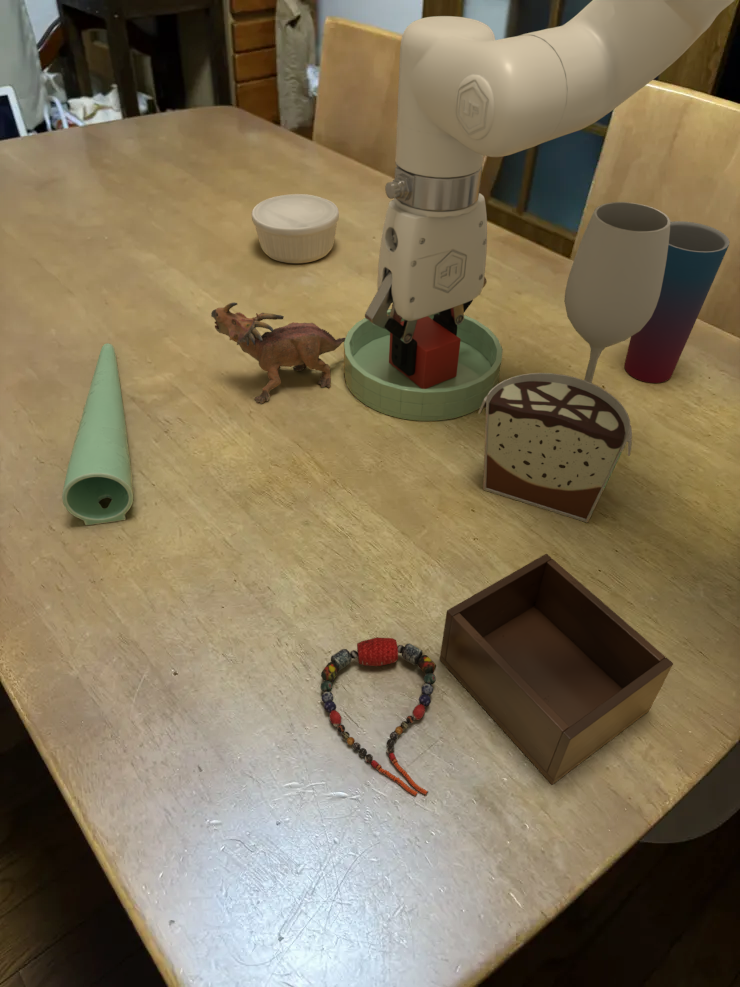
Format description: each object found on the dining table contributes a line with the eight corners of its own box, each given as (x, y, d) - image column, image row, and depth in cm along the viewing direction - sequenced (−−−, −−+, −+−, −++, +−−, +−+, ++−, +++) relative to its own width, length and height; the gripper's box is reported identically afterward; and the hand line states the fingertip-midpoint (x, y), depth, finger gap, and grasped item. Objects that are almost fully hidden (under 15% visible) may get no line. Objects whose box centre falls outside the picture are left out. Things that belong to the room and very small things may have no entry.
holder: (649, 711, 51) (674, 663, 47) (551, 785, 47) (570, 739, 43) (533, 602, 57) (546, 552, 53) (439, 659, 53) (446, 610, 50)
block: (456, 376, 78) (460, 338, 75) (423, 390, 76) (426, 351, 73) (421, 350, 82) (424, 313, 79) (388, 362, 80) (390, 325, 77)
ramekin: (244, 263, 97) (240, 223, 94) (268, 227, 105) (265, 189, 102) (328, 272, 96) (328, 232, 92) (346, 235, 104) (346, 197, 100)
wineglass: (548, 396, 77) (595, 191, 63) (622, 418, 75) (689, 209, 60) (526, 437, 72) (572, 224, 58) (605, 461, 70) (673, 245, 55)
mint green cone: (125, 303, 78) (126, 469, 59) (135, 349, 82) (139, 518, 63) (71, 308, 77) (54, 478, 58) (83, 354, 81) (71, 528, 62)
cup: (613, 380, 79) (653, 244, 69) (618, 348, 84) (656, 216, 74) (679, 393, 78) (730, 257, 68) (681, 359, 83) (729, 227, 73)
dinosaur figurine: (232, 410, 74) (221, 327, 68) (219, 377, 78) (208, 296, 72) (362, 384, 78) (363, 304, 72) (343, 355, 82) (343, 276, 76)
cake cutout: (619, 484, 67) (650, 392, 61) (605, 528, 63) (636, 435, 57) (488, 445, 71) (504, 354, 64) (467, 484, 67) (481, 392, 60)
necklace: (428, 641, 54) (430, 627, 53) (458, 796, 47) (461, 784, 45) (317, 652, 54) (316, 637, 52) (330, 811, 46) (329, 799, 45)
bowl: (501, 343, 84) (505, 315, 82) (493, 430, 73) (498, 401, 70) (359, 327, 86) (360, 299, 84) (329, 410, 75) (329, 380, 72)
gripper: (384, 220, 60) (377, 406, 72) (536, 179, 67) (507, 354, 80) (333, 190, 64) (335, 369, 77) (481, 154, 72) (461, 323, 84)
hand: (423, 360), depth 78 cm, fingers closed on block, 4 cm apart
